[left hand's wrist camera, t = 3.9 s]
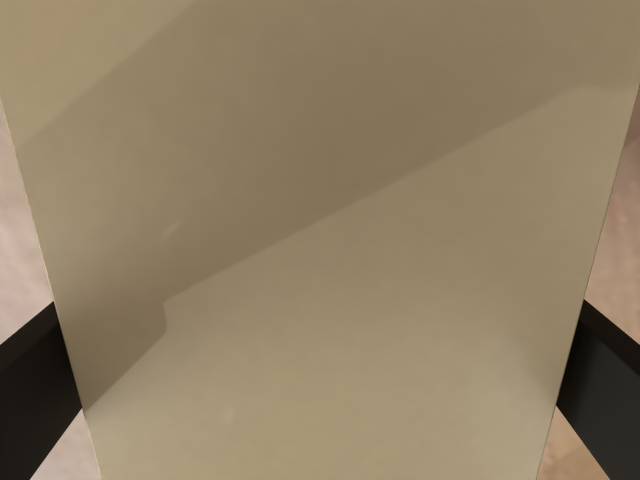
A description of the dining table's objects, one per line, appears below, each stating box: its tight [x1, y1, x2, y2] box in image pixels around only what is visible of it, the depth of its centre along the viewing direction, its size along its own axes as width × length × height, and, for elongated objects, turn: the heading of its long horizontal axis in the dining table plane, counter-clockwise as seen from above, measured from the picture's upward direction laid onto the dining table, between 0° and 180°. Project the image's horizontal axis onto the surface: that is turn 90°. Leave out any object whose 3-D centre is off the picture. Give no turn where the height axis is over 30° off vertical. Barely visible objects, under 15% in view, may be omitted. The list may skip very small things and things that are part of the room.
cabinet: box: [0, 0, 640, 480], centre depth 12 cm, size 18×11×10 cm, turn 0°
